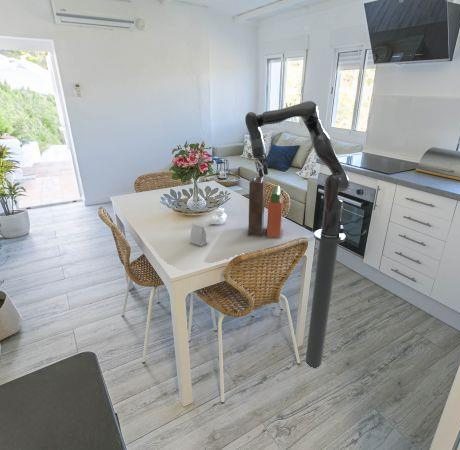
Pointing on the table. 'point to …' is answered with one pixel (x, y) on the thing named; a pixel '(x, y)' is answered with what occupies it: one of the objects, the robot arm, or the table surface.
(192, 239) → the grey tapered block
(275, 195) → the bottle
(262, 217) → the post
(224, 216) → the bust
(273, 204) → the bottle holder
